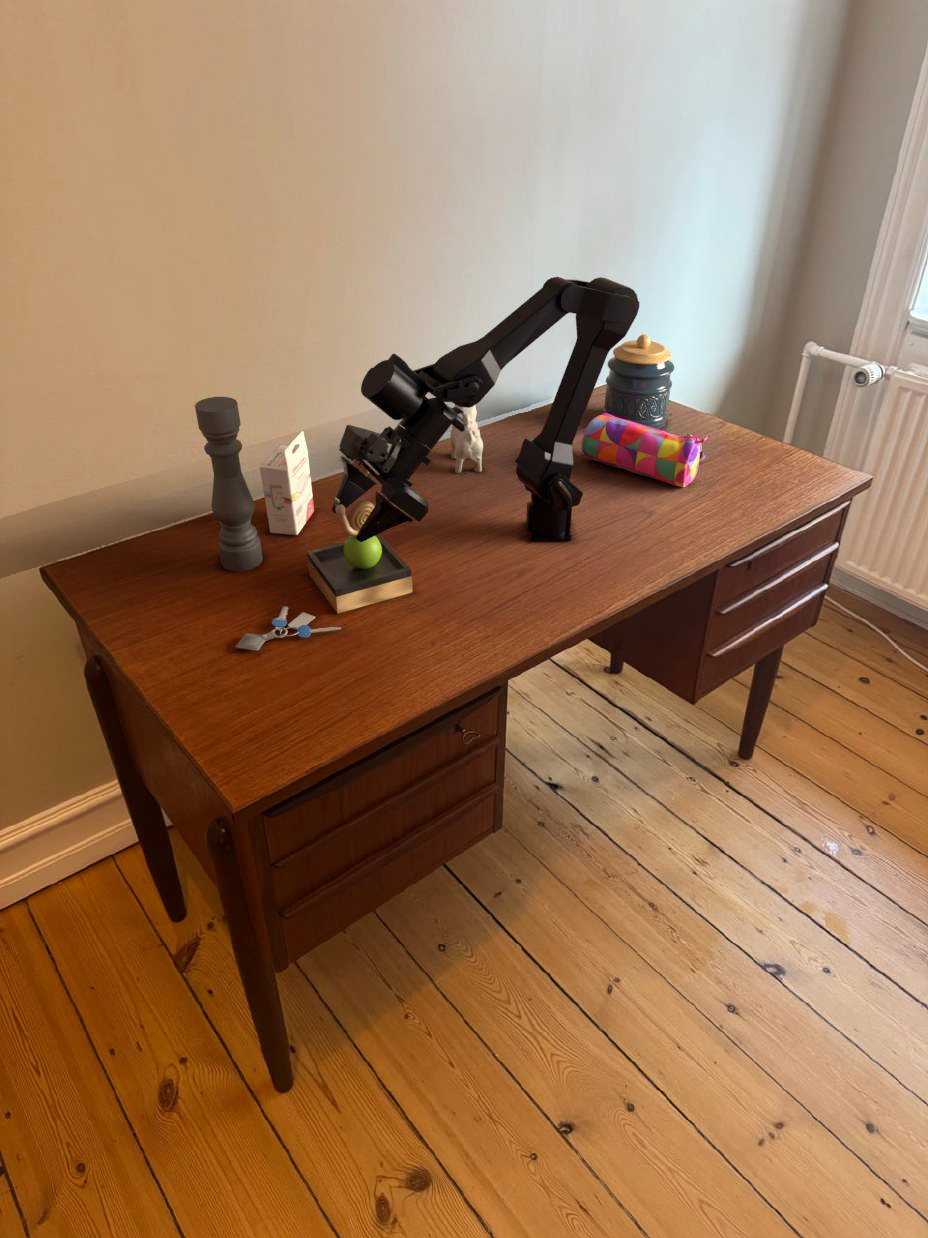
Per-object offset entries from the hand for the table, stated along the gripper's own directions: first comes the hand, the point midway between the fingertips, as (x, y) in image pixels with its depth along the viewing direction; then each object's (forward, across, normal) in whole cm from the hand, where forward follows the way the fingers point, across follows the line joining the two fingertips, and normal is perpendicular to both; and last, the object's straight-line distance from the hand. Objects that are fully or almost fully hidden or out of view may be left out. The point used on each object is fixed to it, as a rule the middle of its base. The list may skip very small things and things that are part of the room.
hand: (345, 526), depth 123 cm
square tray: (+6, 0, +8) cm, 10 cm away
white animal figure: (-18, -30, +32) cm, 47 cm away
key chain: (+16, +6, -1) cm, 17 cm away
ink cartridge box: (+8, -22, +6) cm, 25 cm away
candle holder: (+16, -14, -1) cm, 21 cm away
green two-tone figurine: (+4, 0, +6) cm, 7 cm away
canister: (-45, -30, +60) cm, 81 cm away
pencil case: (-36, -11, +50) cm, 63 cm away
